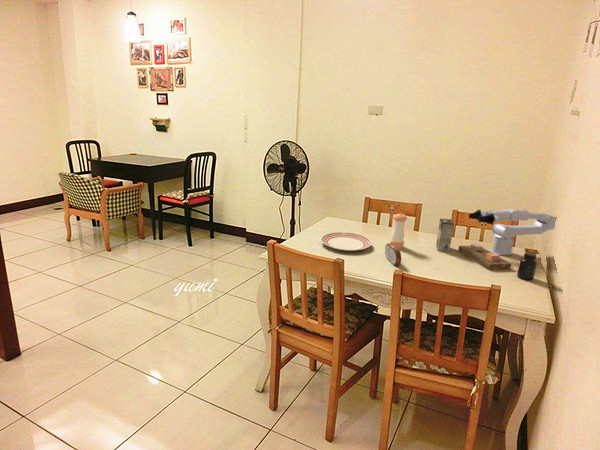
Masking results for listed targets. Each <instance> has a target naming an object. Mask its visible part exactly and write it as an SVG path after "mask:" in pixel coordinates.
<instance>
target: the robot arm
mask: <svg viewBox="0 0 600 450" xmlns="http://www.w3.org/2000/svg"><path fill="white" fill-rule="evenodd" d="M557 217H558V216H554V215H551V214H549V213H548V214H547V213H546V212H541V211H539V212H537V211H536V212H534V211H533V212H532V211H531V212H529V210H527V209H525V208H522V209H518V208H515V209H513V208H508V207H507V208H505V209H502V210H492V209H491V208H488V209H487V210H485V211H482V210H481V209H477V210H476V211H474V212H472V213H469V214H468V219H471V220H477V221H478V222H479V223H486V224H489V225H493V227H492V228H491V229H492V233H493V242H492V247H491V249H490V248H489V249H488V248H487V250H488V251H490V252H491V253H495V254H497V255H499V256H512V255H513V253H512V251H513V248H514V247H513V246H514V239H513V238H515V237H516V236H524V235H525V236H526V235H527V236H528V235H530V236H531V235H541V234H543V233H546V232H547V231H551V230H555V229H554V227H555V222H556V219H557ZM530 219H531V220H534V221H533V224H526V225H525V224H524V225H523V224H521V225H509V224H502V223H500V222H505V221H511V222H513V223H514V222H517V221H520V222H521V221H523V222H524V221H528V220H530ZM494 222H495V224H494Z"/></svg>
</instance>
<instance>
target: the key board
mask: <svg viewBox="0 0 600 450" xmlns="http://www.w3.org/2000/svg"><path fill="white" fill-rule="evenodd" d="M457 252H459V253H460V254H462V255H463V256H466V257H467V258H468V259H470V260H471V261H473V262H474V263H476V264H478V265H480V266H481V267H483V268H484V269H486V270H488V271H498V270H499V271H500V270H501V271H504V270H511V268H512V263H511V262H509V261H507V260H506V259H504V258H502V257H500V256H499V259H498V261H490V260H488V259H486V254H487V253H492V252H490V251H488V249H486V248H484V247H483V248H482V251H481V252H475V251H473V250H471V245H459V246H458V249H457Z"/></svg>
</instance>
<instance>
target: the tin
mask: <svg viewBox="0 0 600 450" xmlns="http://www.w3.org/2000/svg"><path fill="white" fill-rule="evenodd" d="M384 249H385V251H384V254H385V257H386V259H387V260H388V261H389V262H390V263H391V265H393V266H400V265H401V263H402V253H401V249H398V248H397V247H396V246H395V245H394V244H393V243H390V242H389V243H386V244H385V248H384Z"/></svg>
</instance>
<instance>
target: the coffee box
mask: <svg viewBox="0 0 600 450" xmlns="http://www.w3.org/2000/svg"><path fill="white" fill-rule="evenodd" d="M454 227H455V223H454V221H453V219H450V218H439V225H438V229H437V230H438V231H437V237H436V242H435V243H436V244H435V246H436V250H437V251H439V252H444V253H445V252H446V253H450V250H451V244H452V238H453V233H454Z"/></svg>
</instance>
